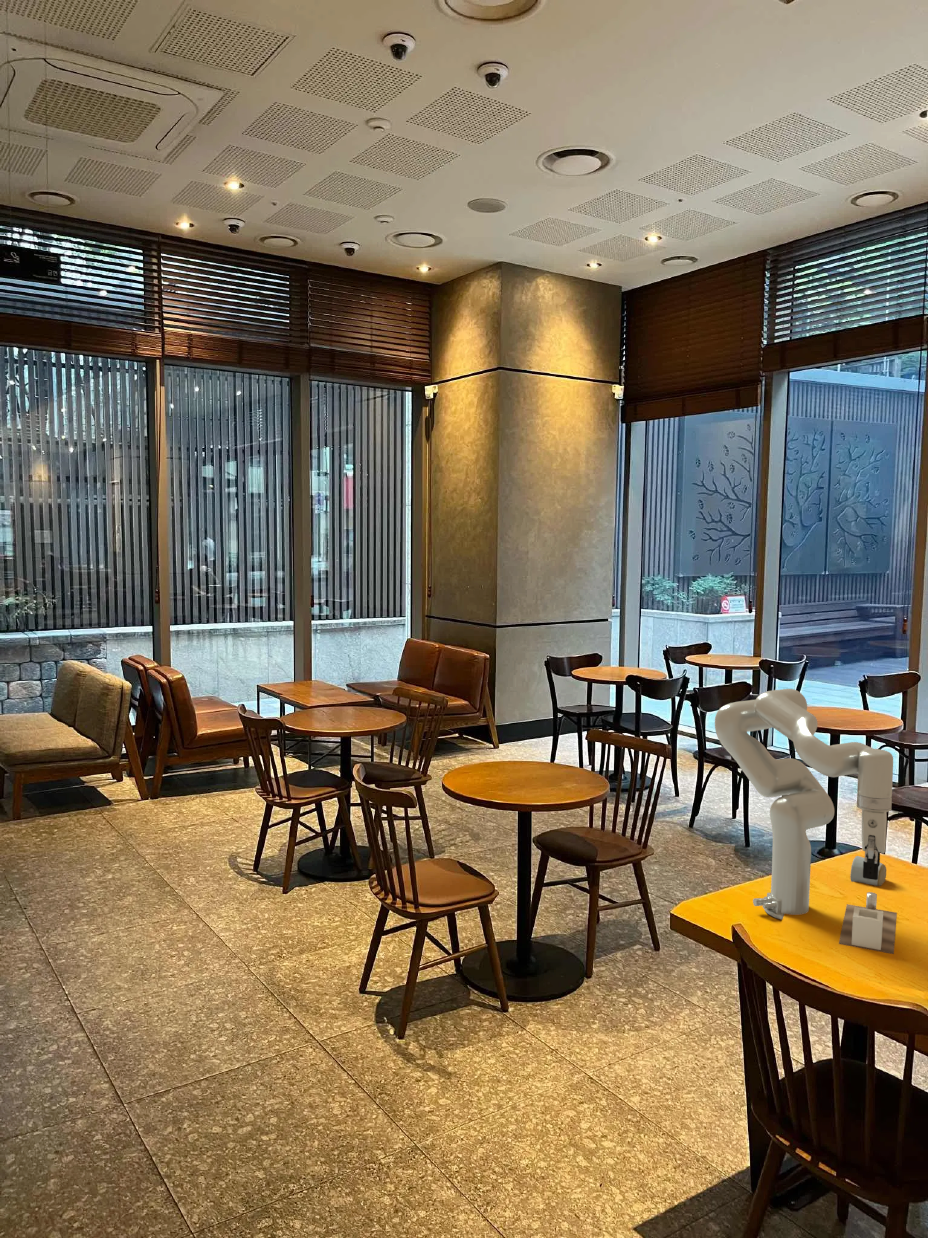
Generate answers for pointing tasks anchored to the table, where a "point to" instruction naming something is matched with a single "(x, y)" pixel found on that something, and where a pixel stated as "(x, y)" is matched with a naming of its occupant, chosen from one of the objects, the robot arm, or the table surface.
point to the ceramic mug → (858, 873)
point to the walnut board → (887, 930)
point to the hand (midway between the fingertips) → (871, 872)
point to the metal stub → (871, 901)
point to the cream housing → (867, 928)
